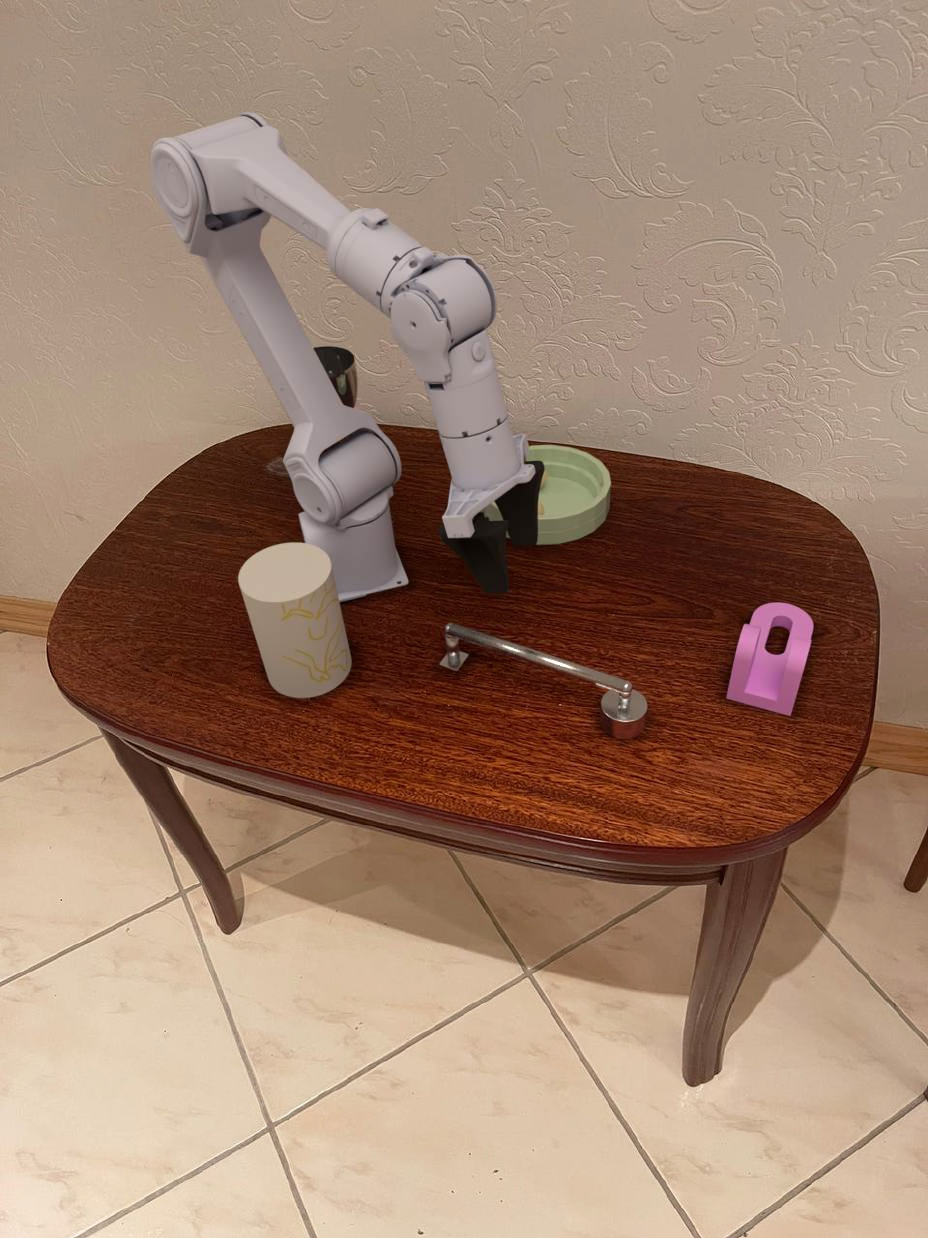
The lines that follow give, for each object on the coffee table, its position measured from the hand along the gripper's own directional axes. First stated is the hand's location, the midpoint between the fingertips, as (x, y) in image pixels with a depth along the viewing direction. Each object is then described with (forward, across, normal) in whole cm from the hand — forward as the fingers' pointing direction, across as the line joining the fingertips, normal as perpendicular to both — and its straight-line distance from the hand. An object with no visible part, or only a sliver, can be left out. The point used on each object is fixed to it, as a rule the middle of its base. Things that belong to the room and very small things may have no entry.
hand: (512, 567), depth 78 cm
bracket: (+16, +8, -20) cm, 26 cm away
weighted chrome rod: (+12, -3, 0) cm, 12 cm away
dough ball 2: (+7, +20, +7) cm, 23 cm away
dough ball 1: (+6, +27, +9) cm, 29 cm away
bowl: (+7, +24, +7) cm, 26 cm away
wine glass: (+1, +24, +32) cm, 40 cm away
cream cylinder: (+7, -7, +21) cm, 23 cm away
